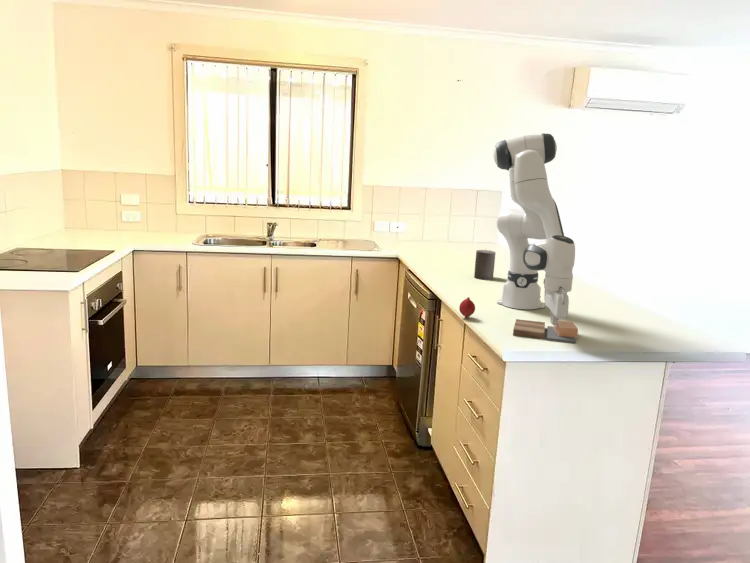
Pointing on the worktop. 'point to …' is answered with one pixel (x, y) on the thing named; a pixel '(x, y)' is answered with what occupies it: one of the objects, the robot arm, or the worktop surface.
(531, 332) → the board
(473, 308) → the onion
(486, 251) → the pillar candle
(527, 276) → the robot arm
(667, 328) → the worktop surface
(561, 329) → the orange rectangular block
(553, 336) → the mat
